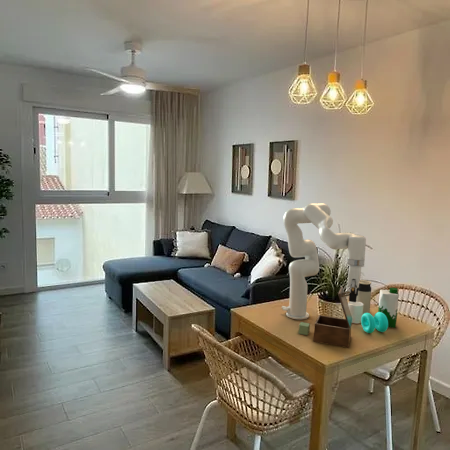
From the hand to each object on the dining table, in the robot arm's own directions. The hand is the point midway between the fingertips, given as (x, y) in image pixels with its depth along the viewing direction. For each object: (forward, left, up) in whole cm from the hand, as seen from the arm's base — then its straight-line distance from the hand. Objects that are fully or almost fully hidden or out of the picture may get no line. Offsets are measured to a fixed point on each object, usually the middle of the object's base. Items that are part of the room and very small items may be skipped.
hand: (353, 298), depth 180 cm
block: (-22, +2, -21) cm, 31 cm away
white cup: (0, +29, -22) cm, 36 cm away
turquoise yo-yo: (+10, +18, -22) cm, 30 cm away
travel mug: (+3, +46, -22) cm, 51 cm away
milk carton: (+16, +31, -22) cm, 41 cm away
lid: (-4, 0, -5) cm, 6 cm away
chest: (-8, 0, -21) cm, 23 cm away
